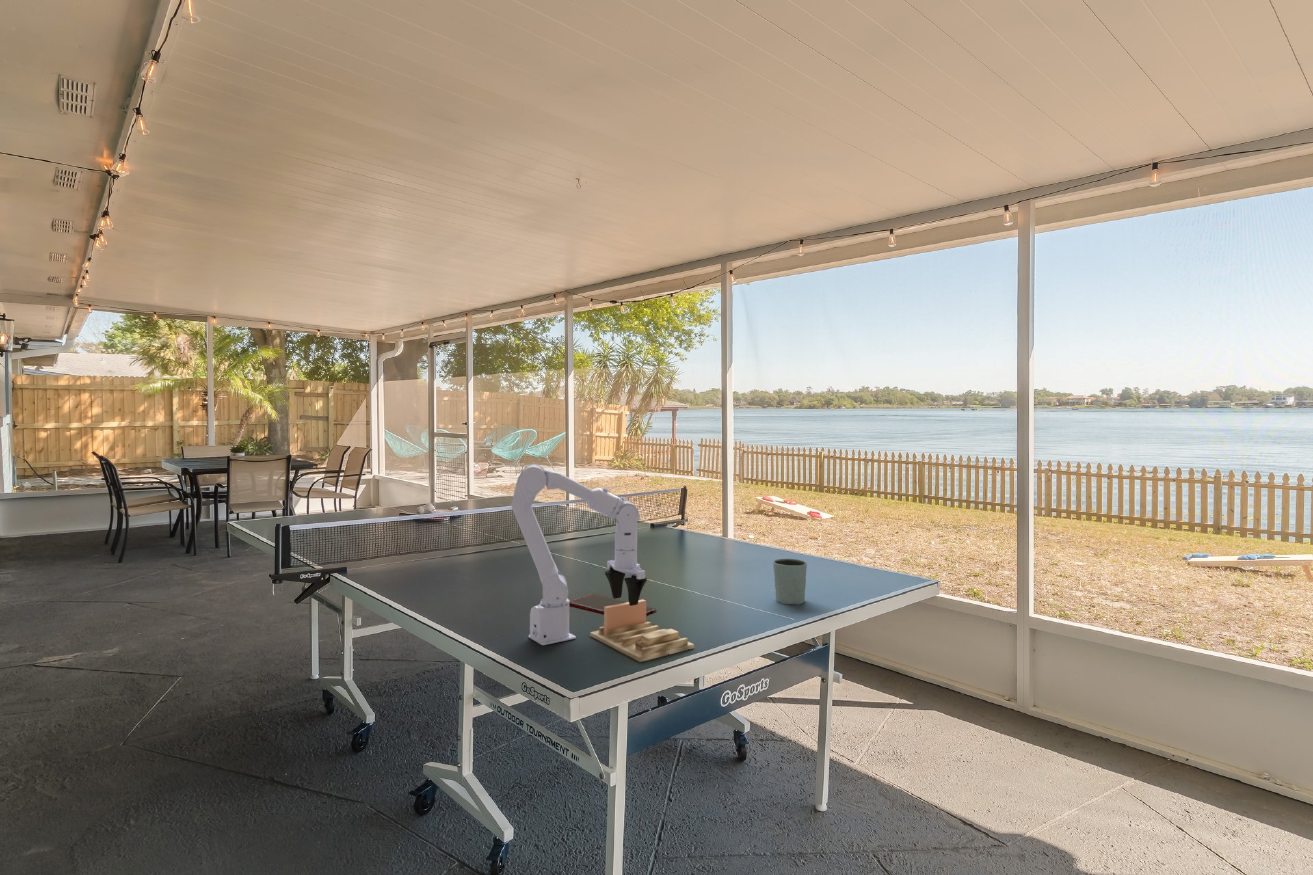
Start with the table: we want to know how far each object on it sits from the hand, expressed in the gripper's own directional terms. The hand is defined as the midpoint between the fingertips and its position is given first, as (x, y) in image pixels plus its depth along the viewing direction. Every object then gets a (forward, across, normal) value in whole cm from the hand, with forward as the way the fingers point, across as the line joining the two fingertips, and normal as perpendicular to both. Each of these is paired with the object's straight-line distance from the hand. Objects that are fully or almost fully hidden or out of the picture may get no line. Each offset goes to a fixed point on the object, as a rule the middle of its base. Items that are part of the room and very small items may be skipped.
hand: (625, 601), depth 175 cm
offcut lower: (+8, -14, 0) cm, 16 cm away
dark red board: (+9, +22, -10) cm, 26 cm away
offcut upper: (+6, -14, -1) cm, 16 cm away
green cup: (+8, -2, -59) cm, 60 cm away
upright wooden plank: (+8, 0, 0) cm, 8 cm away
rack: (+9, -6, 0) cm, 11 cm away
